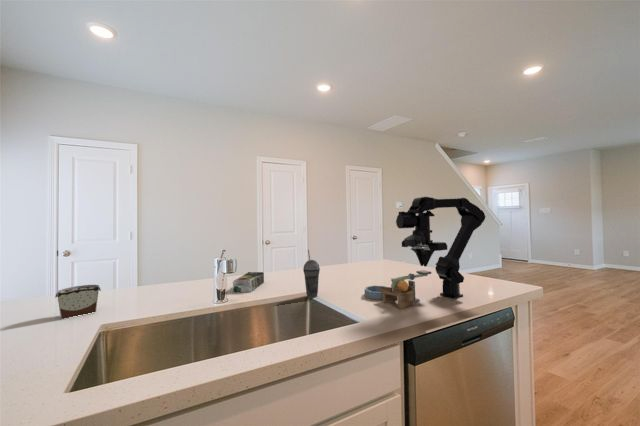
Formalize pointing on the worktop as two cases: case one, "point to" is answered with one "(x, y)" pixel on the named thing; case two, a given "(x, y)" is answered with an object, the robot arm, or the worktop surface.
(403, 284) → the ball
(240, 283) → the juice carton
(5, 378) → the worktop surface
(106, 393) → the worktop surface
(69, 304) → the food container
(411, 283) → the lever post
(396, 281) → the lever
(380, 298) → the bowl
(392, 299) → the ramp
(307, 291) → the beverage cup
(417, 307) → the worktop surface
